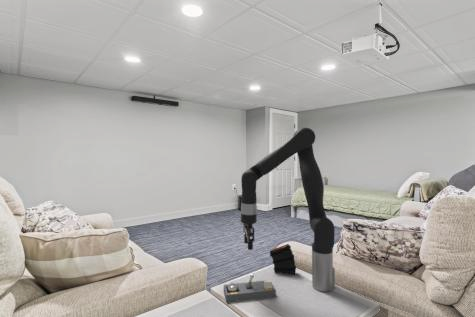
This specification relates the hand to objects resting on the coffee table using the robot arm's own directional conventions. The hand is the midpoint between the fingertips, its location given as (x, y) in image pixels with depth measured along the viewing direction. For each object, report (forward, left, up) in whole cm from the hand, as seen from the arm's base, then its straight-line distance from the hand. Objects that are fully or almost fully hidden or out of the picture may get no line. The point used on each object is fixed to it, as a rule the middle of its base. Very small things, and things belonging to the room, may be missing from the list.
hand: (248, 246), depth 125 cm
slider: (-7, +10, -16) cm, 20 cm away
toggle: (+1, +7, -15) cm, 16 cm away
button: (+9, +7, -17) cm, 21 cm away
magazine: (-21, -10, -19) cm, 30 cm away
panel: (+1, +7, -19) cm, 20 cm away
